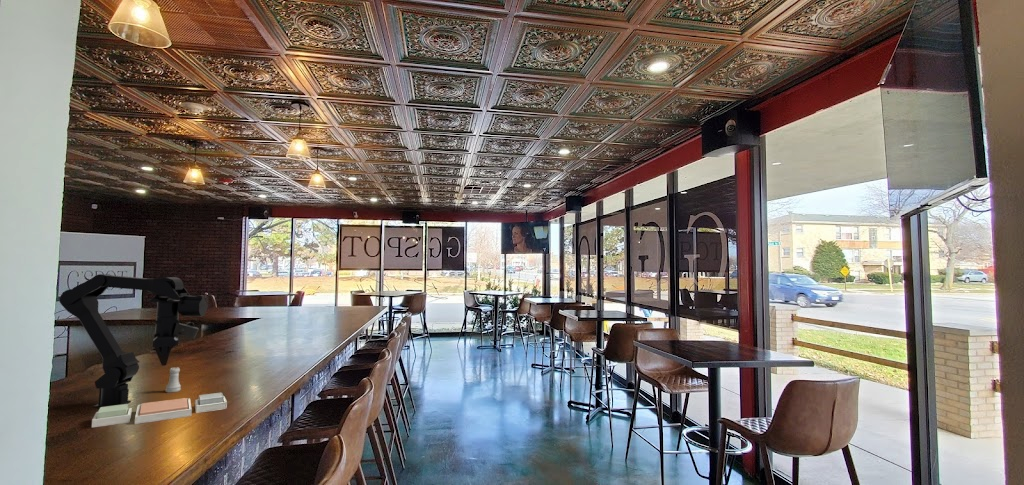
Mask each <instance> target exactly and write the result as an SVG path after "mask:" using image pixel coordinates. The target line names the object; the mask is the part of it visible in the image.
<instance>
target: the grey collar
mask: <svg viewBox="0 0 1024 485" xmlns="http://www.w3.org/2000/svg"><path fill="white" fill-rule="evenodd" d="M223 397H224V398H223V402H221V403H213V404H206V405H199V398H198V399H195V400H194V408H195V409H194V410H195V413H196V414H200V413H205V412H213V411H220V410H226V409H227V408H228V401H227V399H226V397H225V396H224V395H223Z"/></svg>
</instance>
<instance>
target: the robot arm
mask: <svg viewBox="0 0 1024 485" xmlns="http://www.w3.org/2000/svg"><path fill="white" fill-rule="evenodd" d="M108 288H115V289H126V290H137V291H138V290H139V291H145V292H149V293H151V294H155V295H154V297H152V298H151V299H150V300H149V302H150V303H157V304H156V314H155V315H156V316H155V329H154V331H155V332H154V336H153V339H152V348H154V350H155V353H156V355H157V358H158V360H159V362H160V365H161V366H163V367H165V366H167V363H168V361H169V357H170V353H171V350H172V349H174V348H175V347H177V346H179V335H181V336H185V337H189V338H190V339H195V338H196V336H197V333H198V332H199V330H200V329H199V327H198V326H195V323H194V322H191V321H188V322H187V323H186V324H185V323H181V322H180V319H179V317H180V316H179V315H181V316H182V317H204V316H206V314H207V310H208V304H207V300H206V299H205V298H206V297H205V295H202V294H201V295H191V294H190V293H189V292H188V290H187V289H186V288H185V286H184V282H183V281H182V279H181V278H180V277H176V276H173V277H171V276H170V277H169V276H168V277H157V278H155V277H154V278H149V277H148V278H146V277H145V278H144V277H137V276H135V277H133V276H124V275H123V276H122V275H114V274H109V273H105V274H103V273H102V274H99V273H98V274H96V275H94V276H93V277H91V278H90V279H88V280H86V281H84V282H82V283H80V284H78V285H76V286H74V287H72V288H71V289H66V290H65V291H63V292H61V294H60V296H59V298H58V300H59V304H60V305H61V306H62V307H63V308H64V309H65V310H66V311H67V313H69V314H71V315H73V316H74V317H75V318H77V319H78V320H79V321H80V323H81V325H82V326H83V329H84V330H85V331H86V333H87V334H88V337H89V338H90V340H91V341H92V342H93V345H94V347H95V348H96V350H97V351H98V353H99V354H100V356H101V357H102V366H101V367H102V370H103V373H104V374H103V375H101V376H100V377H99V378H97V380H95V381H94V385H95V388H96V389H99V392H98V403H97V404H94V405H93V406H92V407H93V408H100V407H107V406H115V405H123V404H129V403H131V402H132V400H131V399H129V390H130V389H129V388H128V387H129V382H131V381H132V379H133V377H134V376H136V375H137V373H138V371H139V370H140V365H139V363H140V360H138V359H137V358H136V355H135V353H134V352H133V351H130V352H126V351H124V350H123V349H122V348H121V347H120V345H119V343H118V342H117V340H116V339H115V336H114V335H113V333H112V331H111V330H110V329H109V327H108V325H107V324H106V322H105V320H104V319H103V317H102V315H101V314H100V312H99V300H98V298H99V297H100V296H101V295H102V294H104V293H105V292H106V291H107V289H108Z"/></svg>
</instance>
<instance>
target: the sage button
mask: <svg viewBox="0 0 1024 485" xmlns="http://www.w3.org/2000/svg"><path fill="white" fill-rule="evenodd" d="M128 408H129V403H126V404H123V405H115V406H107V407H99V409H98V411H97V412H98V415H97V419H100V418H107V417H115V416H122V415H127V411H128Z"/></svg>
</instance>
